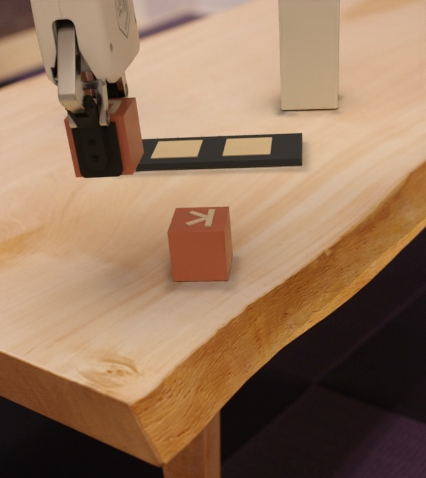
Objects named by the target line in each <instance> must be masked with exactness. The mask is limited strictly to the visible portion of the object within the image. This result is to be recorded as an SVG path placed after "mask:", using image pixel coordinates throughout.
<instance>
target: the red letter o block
mask: <svg viewBox="0 0 426 478" xmlns="http://www.w3.org/2000/svg"><path fill="white" fill-rule="evenodd" d="M95 102H96V104H97V101H96V100H95ZM137 104H138V103H137V100H136V97H135V96H133V97H132V96H131V97H128V98H115V99H108V105H109V114H110V122H115V123H116V129H117V135H118V141H119V147H120V152H121V158H122V164H123V172H122V174H121V175H120V176H133V175H134V174H135V172H136V171H135V170H136V168H137V166H138V164H139V161H140V159H141V157H142V155H143V153H144V150H143V143H142V139H143V138H142V131H141V130H142V129H141V125H140V118H139V112H138V105H137ZM63 123H64V128H65V133H66V137H67V143H68V147H69V152H70V156H71V161H72V166H73V170H74V175H75V178H83V177H82V176H81V174H80V169H79V165H78V160H77V155H76V150H75V145H74V140H73V135H72V130H71V128H70V126H69V122H68V114H67V115H66V116H65V118H64V119H63Z"/></svg>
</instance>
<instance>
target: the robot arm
mask: <svg viewBox="0 0 426 478" xmlns="http://www.w3.org/2000/svg"><path fill="white" fill-rule="evenodd" d="M30 7H31V11H32V17H33V24H34V28H35V33H36V39H37V43H38V47H39V51H40V56H41V60H42V64H43V67H44V71H45V75H46V76H47V77H46V78H47V79H48V81H49V82H50V83H52V84H53V85H55V86H56V87H57V98H58V102H59V103H60V105H62V106H63V108H64V110H65V111H66V114H67V115H68V122H69V126H70V128H71V130H72V135H73V140H74V145H75V150H76V155H77V160H78V165H79V169H80V174H81V176H82V177H81V178H84V179H98V178H100V179H101V178H117V177H120V176H122V175H121V174H122V172H123V164H122V158H121V152H120V147H119V141H118V135H117V129H116V123H115V122H110V114H109V105H108V99H115V98H129V84H128V81H127V76H126V71H127V70H128V69H129V67H130V66H131V64H132V63H133V61H134V60H135V59H136V57H137V56H138V54H139V52H140V48H141V41H140V40H141V39H140V33H139V28H138V22H137V18H136V17H137V16H136V12H135V7H134V0H30ZM81 72H85V73H86V77H87V80H83V81H81ZM84 90H90V92H91V95H85V92H84ZM95 100H96V101H97V104H96V102H95Z"/></svg>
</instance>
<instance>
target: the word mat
mask: <svg viewBox="0 0 426 478" xmlns="http://www.w3.org/2000/svg"><path fill="white" fill-rule="evenodd" d="M142 143H143V150H144V153H143V155H142V157H141V159H140V161H139V164H138V166H137V168H136V170H135V172H136V171H137V172H139V171H141V172H142V171H167V170H168V171H170V170H199V169H201V170H202V169H203V170H204V169H229V168H230V169H231V168H233V169H234V168H253V167H254V168H261V167H263V168H265V167H291V166H292V167H293V166H295V167H296V166H302V165H303V133H302V132H291V133H290V132H288V133H287V132H286V133H264V134H262V133H261V134H260V133H259V134H238V135H212V136H210V135H209V136H188V137H183V136H182V137H162V138H161V137H160V138H159V137H158V138H157V137H155V138H142Z"/></svg>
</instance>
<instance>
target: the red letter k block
mask: <svg viewBox="0 0 426 478" xmlns="http://www.w3.org/2000/svg"><path fill="white" fill-rule="evenodd" d="M230 210H231V209H230V206H198V207H197V206H195V207H191V206H190V207H175V209H174V212H173V214H172V217H171V221H170V223H169V226H168V229H167V232H166V233H167V234H166V235H167V241H168V250H169V257H170V258H169V260H170V264H171V265H170V266H171V274H172V281H173V282H211V281H212V282H219V281H220V282H221V281H222V282H223V281H225V282H226V281H228V280H229V278H230V277H229V276H230V272H231V271H230V270H231V266H232V260H233V240H232V239H233V238H232V227H231V226H232V225H231V213H230V212H231V211H230Z"/></svg>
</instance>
